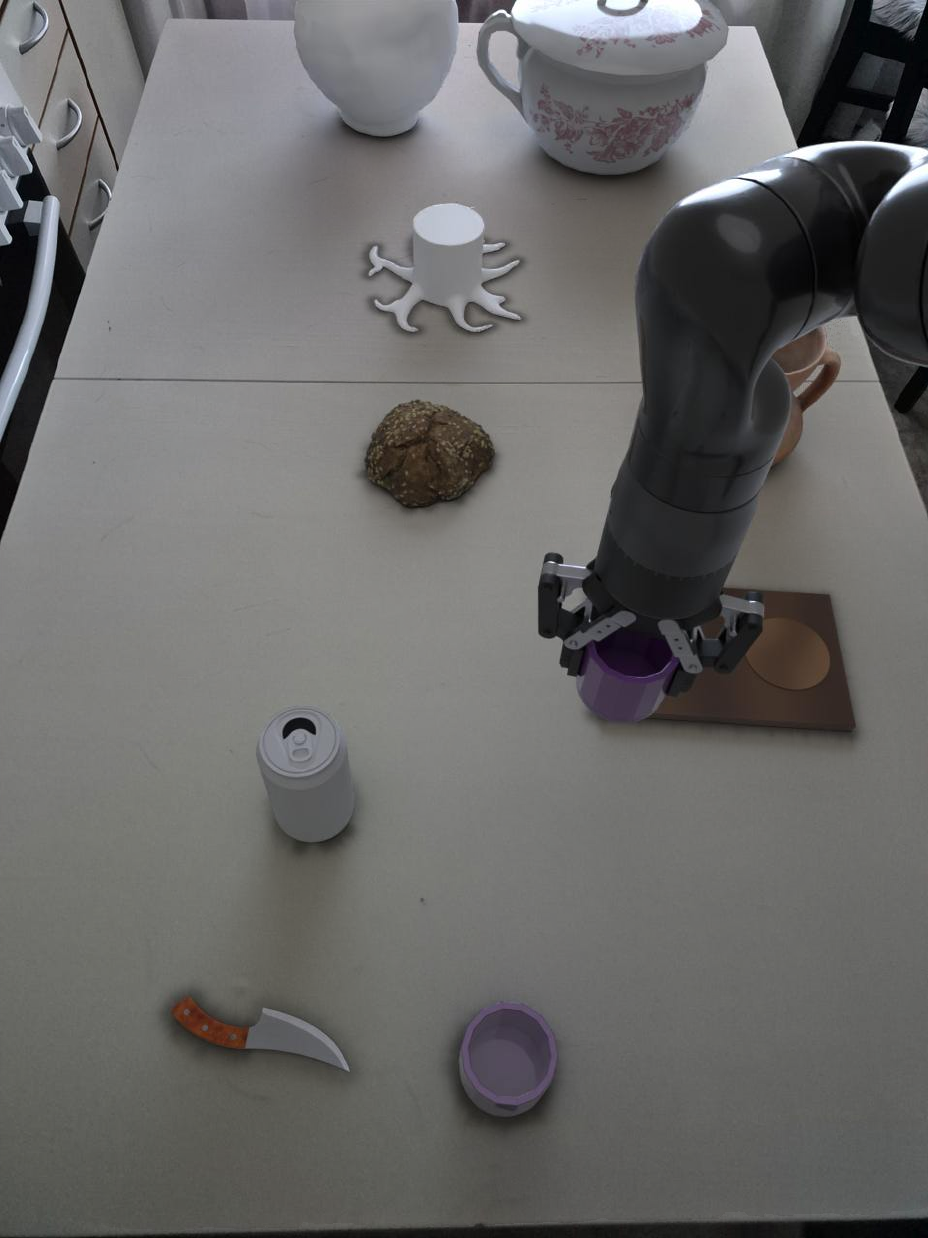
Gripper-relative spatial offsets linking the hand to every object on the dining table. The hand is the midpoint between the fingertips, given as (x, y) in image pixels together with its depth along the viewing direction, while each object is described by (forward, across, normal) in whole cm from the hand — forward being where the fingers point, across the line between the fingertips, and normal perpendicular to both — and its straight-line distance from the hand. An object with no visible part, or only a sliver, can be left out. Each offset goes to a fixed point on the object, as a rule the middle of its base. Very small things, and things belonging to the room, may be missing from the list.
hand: (623, 675), depth 67 cm
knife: (+16, -20, -25) cm, 36 cm away
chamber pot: (+16, -12, +96) cm, 98 cm away
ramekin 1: (+16, -3, -24) cm, 28 cm away
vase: (+17, -43, +94) cm, 105 cm away
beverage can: (+16, -21, -8) cm, 28 cm away
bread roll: (+16, -22, +31) cm, 41 cm away
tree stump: (+16, -26, +60) cm, 68 cm away
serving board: (+16, +10, +14) cm, 24 cm away
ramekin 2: (+1, 0, 0) cm, 1 cm away
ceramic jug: (+16, +9, +43) cm, 46 cm away
